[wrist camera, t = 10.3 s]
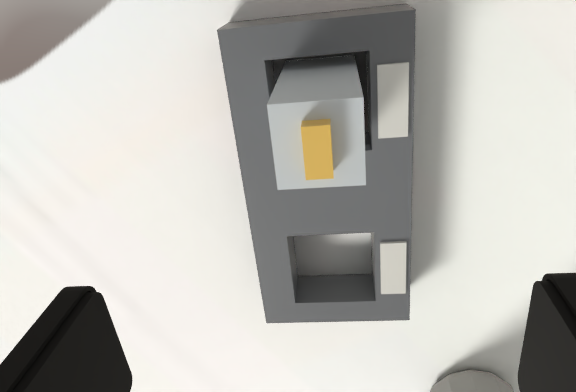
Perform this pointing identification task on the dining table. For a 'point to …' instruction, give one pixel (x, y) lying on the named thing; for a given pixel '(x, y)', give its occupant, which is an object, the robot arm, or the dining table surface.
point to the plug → (318, 124)
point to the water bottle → (471, 382)
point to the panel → (328, 200)
